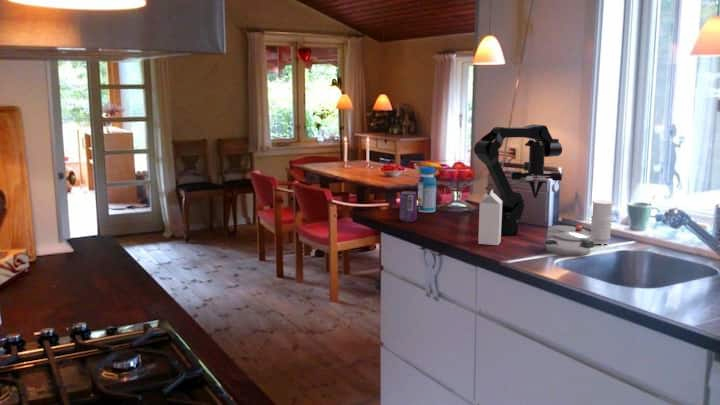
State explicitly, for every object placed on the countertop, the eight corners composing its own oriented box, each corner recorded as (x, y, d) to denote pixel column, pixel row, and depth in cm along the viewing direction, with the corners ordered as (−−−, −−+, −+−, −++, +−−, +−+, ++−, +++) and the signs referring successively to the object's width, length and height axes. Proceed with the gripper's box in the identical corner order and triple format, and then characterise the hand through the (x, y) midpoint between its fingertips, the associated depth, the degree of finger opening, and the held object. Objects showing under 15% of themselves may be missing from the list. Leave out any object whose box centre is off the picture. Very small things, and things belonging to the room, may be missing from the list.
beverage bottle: (430, 213, 285) (431, 168, 281) (413, 211, 289) (414, 167, 286) (439, 210, 292) (440, 166, 288) (422, 208, 296) (423, 165, 293)
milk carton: (500, 241, 233) (502, 189, 229) (498, 245, 226) (500, 192, 223) (481, 239, 235) (482, 188, 232) (478, 244, 228) (479, 191, 225)
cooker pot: (531, 249, 221) (532, 235, 220) (572, 243, 230) (573, 229, 229) (567, 260, 207) (568, 245, 206) (610, 253, 216) (611, 238, 216)
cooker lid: (538, 230, 221) (538, 223, 220) (567, 226, 228) (568, 219, 227) (570, 243, 209) (571, 236, 208) (600, 238, 216) (601, 231, 215)
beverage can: (419, 220, 270) (420, 192, 268) (411, 223, 264) (412, 194, 262) (404, 218, 274) (405, 190, 272) (396, 221, 268) (396, 192, 266)
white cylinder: (585, 241, 232) (588, 201, 230) (600, 240, 235) (603, 199, 232) (598, 246, 226) (601, 204, 224) (614, 244, 229) (617, 203, 226)
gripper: (559, 155, 252) (557, 195, 254) (511, 155, 255) (509, 193, 258) (562, 158, 241) (560, 199, 244) (511, 158, 245) (510, 198, 247)
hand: (534, 197), depth 248 cm, fingers closed
